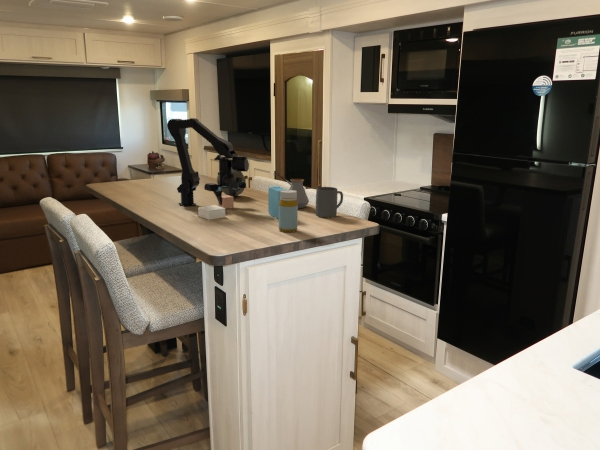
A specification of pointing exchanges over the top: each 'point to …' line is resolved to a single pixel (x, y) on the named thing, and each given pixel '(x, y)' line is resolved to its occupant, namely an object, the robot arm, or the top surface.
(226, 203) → the terracotta cube
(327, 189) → the mug
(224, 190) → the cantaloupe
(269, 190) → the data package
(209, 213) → the base block
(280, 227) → the bottle
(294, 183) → the coffee pot
